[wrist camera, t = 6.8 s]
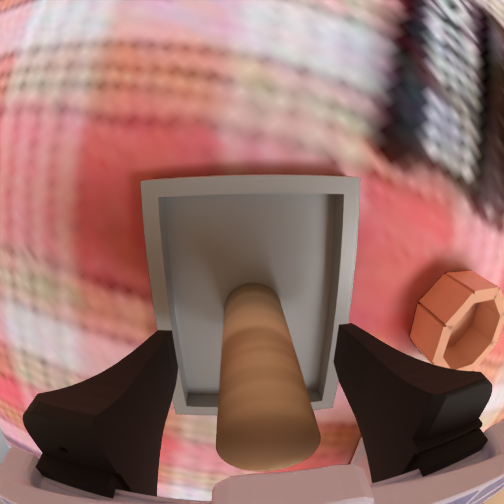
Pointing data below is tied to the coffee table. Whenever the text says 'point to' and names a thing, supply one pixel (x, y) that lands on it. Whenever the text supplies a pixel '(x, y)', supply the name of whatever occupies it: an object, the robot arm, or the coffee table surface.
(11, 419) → the coffee table surface
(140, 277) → the coffee table surface
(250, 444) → the dowel
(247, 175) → the tray
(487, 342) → the cup
